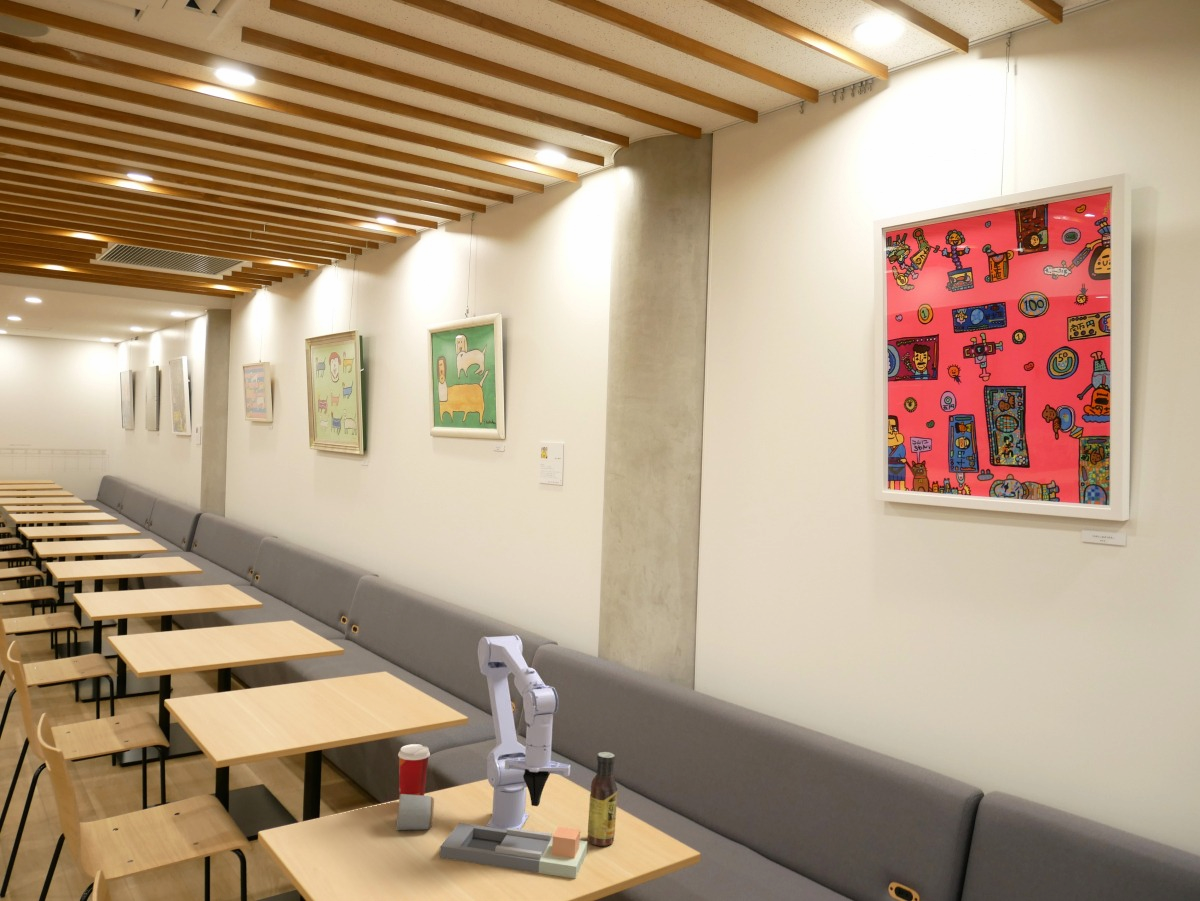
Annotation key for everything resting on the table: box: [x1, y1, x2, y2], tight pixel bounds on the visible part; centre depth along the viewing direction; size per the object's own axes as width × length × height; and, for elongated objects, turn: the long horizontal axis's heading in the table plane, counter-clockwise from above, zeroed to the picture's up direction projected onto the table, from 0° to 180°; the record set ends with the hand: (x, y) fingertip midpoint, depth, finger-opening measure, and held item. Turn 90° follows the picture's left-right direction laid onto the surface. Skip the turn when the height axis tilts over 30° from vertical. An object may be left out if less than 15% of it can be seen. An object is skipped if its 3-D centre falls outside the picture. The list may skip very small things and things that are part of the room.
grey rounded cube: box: [396, 794, 435, 831], centre depth 202 cm, size 11×8×8 cm
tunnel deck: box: [439, 822, 588, 879], centre depth 191 cm, size 12×30×4 cm, turn 80°
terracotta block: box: [552, 826, 581, 858], centre depth 188 cm, size 5×5×4 cm
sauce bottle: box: [587, 751, 618, 847], centre depth 200 cm, size 7×6×20 cm
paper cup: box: [397, 743, 431, 798], centre depth 212 cm, size 8×8×14 cm
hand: (535, 804), depth 193 cm, fingers closed
